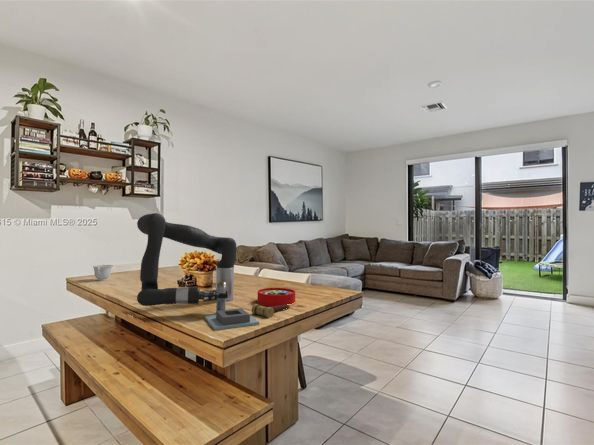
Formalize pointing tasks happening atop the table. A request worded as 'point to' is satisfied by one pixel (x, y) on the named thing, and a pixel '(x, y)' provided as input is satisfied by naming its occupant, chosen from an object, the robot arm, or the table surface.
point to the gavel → (267, 310)
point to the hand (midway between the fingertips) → (227, 294)
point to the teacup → (102, 271)
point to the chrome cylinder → (222, 301)
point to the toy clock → (276, 296)
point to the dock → (219, 326)
